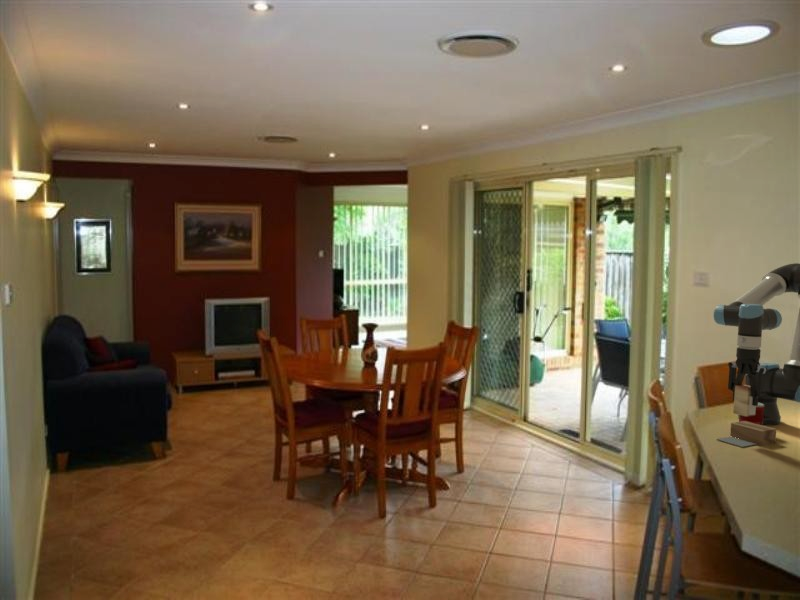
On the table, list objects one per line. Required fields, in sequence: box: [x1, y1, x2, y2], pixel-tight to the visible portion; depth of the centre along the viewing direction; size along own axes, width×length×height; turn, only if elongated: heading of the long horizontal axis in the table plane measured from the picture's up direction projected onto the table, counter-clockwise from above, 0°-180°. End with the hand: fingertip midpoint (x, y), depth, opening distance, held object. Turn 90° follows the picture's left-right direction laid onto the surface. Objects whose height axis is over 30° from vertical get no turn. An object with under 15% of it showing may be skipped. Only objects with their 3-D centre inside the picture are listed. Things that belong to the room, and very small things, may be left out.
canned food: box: [738, 402, 764, 426], centre depth 253 cm, size 8×8×11 cm
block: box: [733, 384, 755, 416], centre depth 239 cm, size 5×5×10 cm
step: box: [729, 421, 777, 446], centre depth 243 cm, size 8×12×5 cm, turn 28°
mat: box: [716, 436, 758, 448], centre depth 239 cm, size 8×10×1 cm
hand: (744, 412), depth 240 cm, fingers closed on block, 5 cm apart
